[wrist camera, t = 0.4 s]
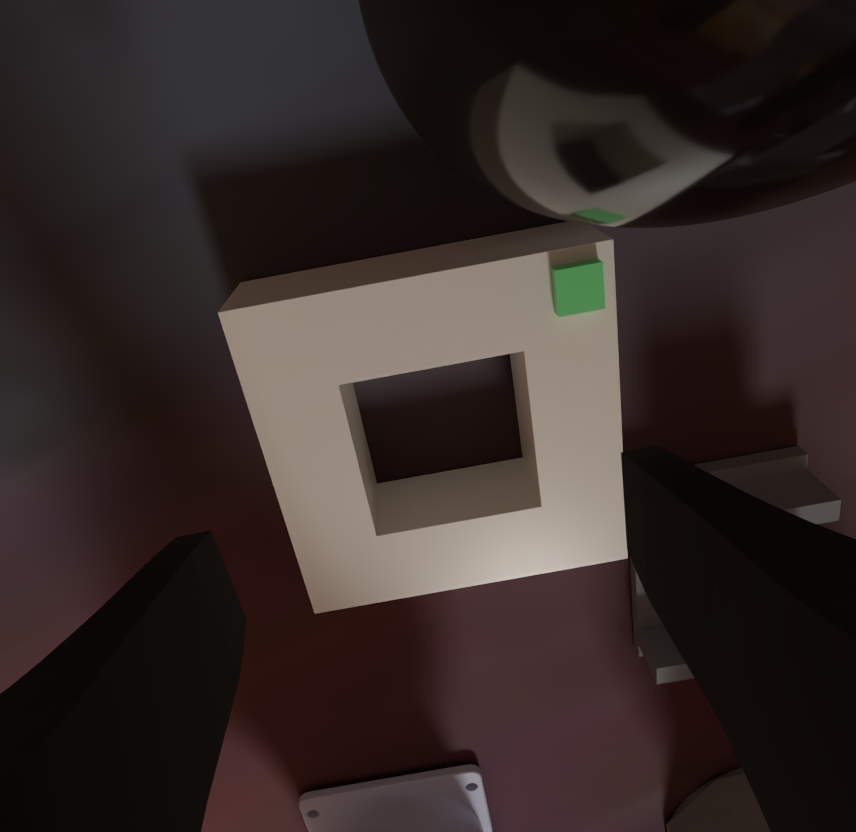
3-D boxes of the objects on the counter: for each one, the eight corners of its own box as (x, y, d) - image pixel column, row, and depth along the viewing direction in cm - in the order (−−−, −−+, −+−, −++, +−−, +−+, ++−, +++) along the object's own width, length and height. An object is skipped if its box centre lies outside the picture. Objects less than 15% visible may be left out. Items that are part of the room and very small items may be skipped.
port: (599, 505, 24) (631, 566, 20) (322, 554, 24) (313, 622, 21) (580, 219, 19) (618, 242, 16) (240, 282, 19) (214, 317, 16)
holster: (782, 619, 26) (820, 668, 24) (633, 645, 27) (657, 696, 24) (798, 445, 23) (843, 484, 21) (626, 476, 23) (652, 517, 21)
